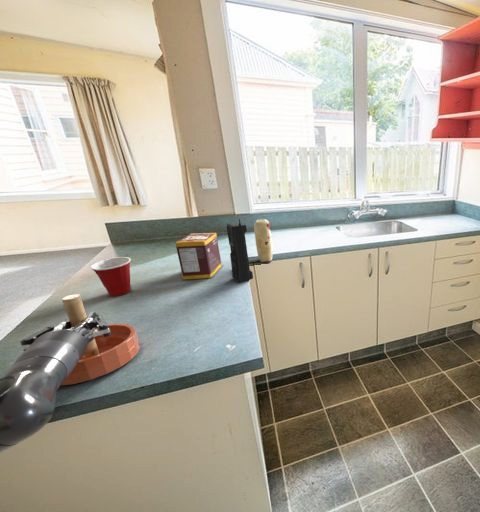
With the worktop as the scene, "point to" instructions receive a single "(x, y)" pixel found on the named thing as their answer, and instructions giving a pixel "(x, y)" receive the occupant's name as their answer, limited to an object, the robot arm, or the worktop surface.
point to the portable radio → (239, 252)
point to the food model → (263, 240)
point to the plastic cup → (114, 274)
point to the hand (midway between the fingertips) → (84, 317)
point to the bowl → (106, 354)
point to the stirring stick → (79, 320)
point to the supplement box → (199, 255)
